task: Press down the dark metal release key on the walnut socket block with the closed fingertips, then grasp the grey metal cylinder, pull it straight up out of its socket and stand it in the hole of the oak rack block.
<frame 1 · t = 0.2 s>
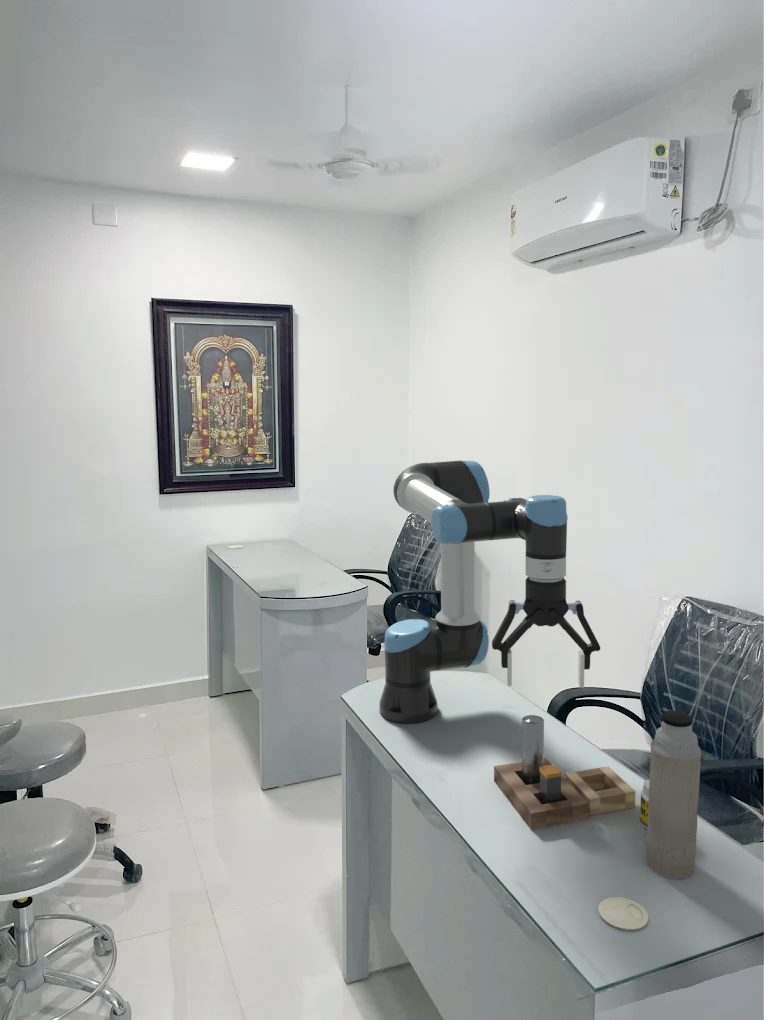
hand: (545, 684, 142), 26 cm above the table, fingers open, 13 cm apart
release key: (550, 785, 144), point 6 cm above the table, slide at 0.0 cm
rack: (599, 797, 150), on the table
socket block: (538, 799, 150), on the table
thermos bottle: (670, 865, 129), on the table
supplement bottle: (652, 825, 141), on the table
grey metal cylinder: (532, 791, 153), resting in socket block
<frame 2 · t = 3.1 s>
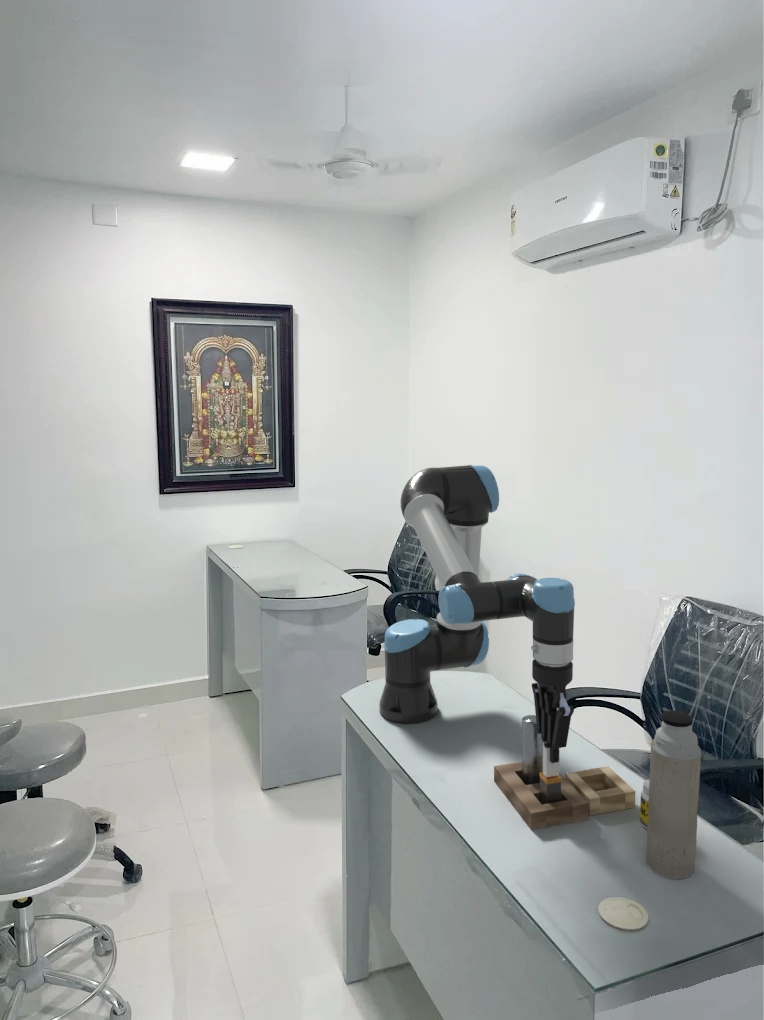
hand: (550, 774, 144), 8 cm above the table, fingers closed
release key: (550, 791, 145), point 5 cm above the table, slide at 1.2 cm, touching gripper
everything else where it was.
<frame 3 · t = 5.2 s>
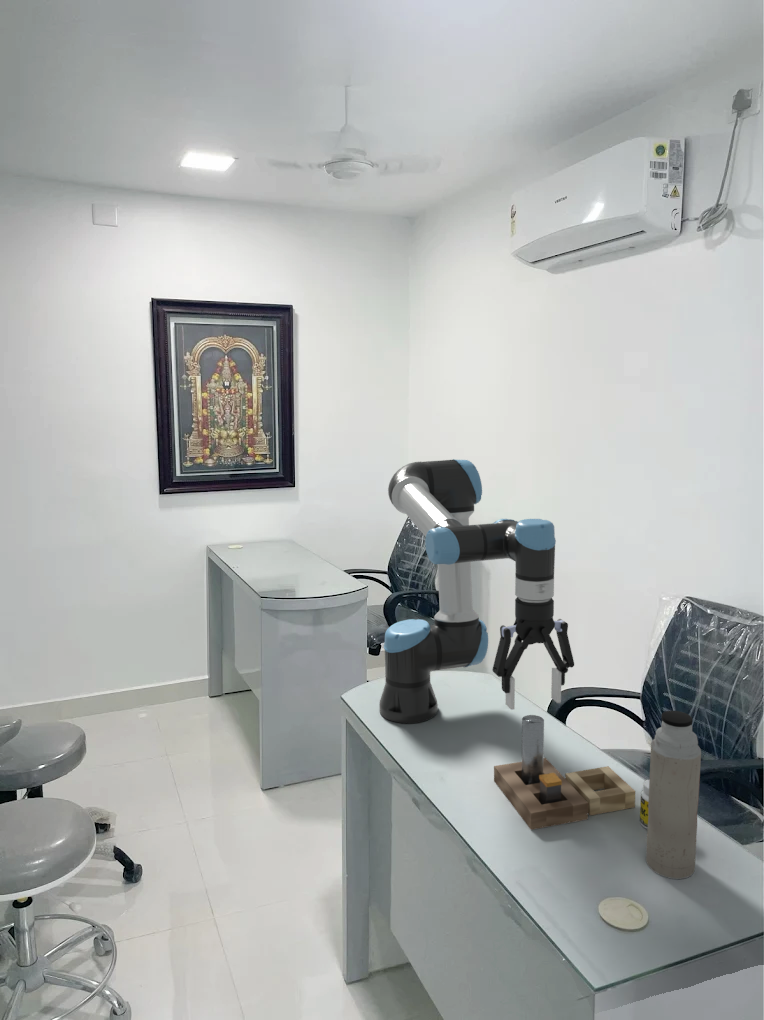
hand: (533, 703, 150), 20 cm above the table, fingers open, 9 cm apart
release key: (550, 793, 145), point 4 cm above the table, slide at 1.8 cm
everything else where it was.
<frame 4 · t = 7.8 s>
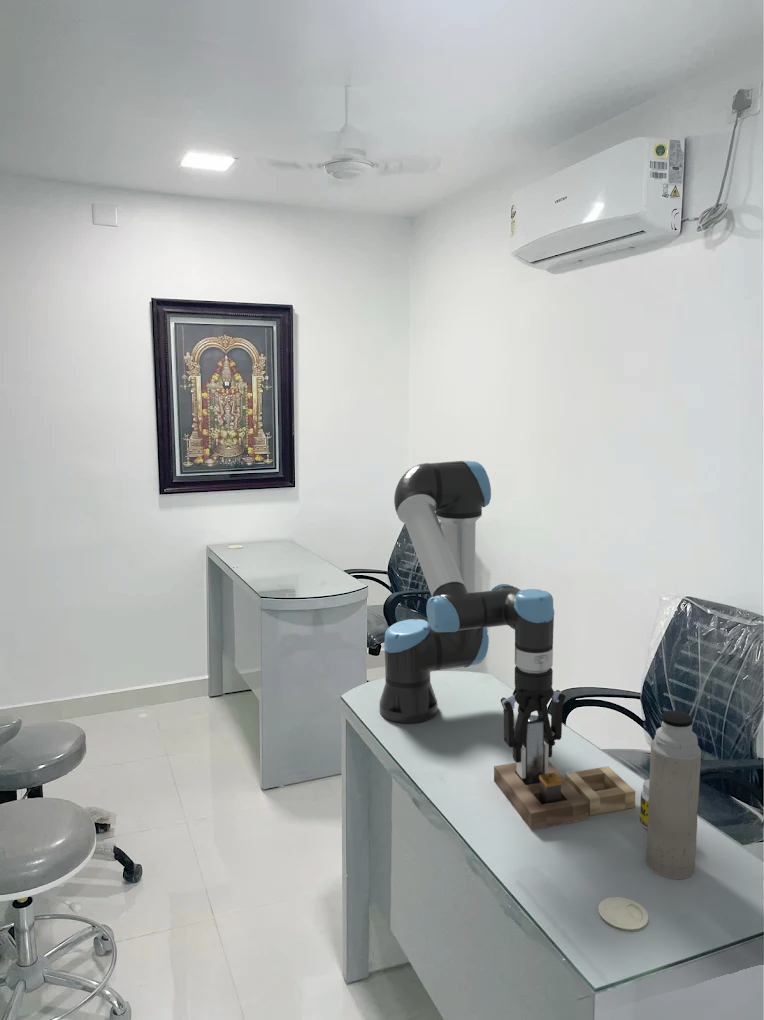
hand: (532, 773, 152), 4 cm above the table, fingers closed on grey metal cylinder, 4 cm apart
grey metal cylinder: (532, 791, 153), resting in socket block, touching gripper
everything else where it was.
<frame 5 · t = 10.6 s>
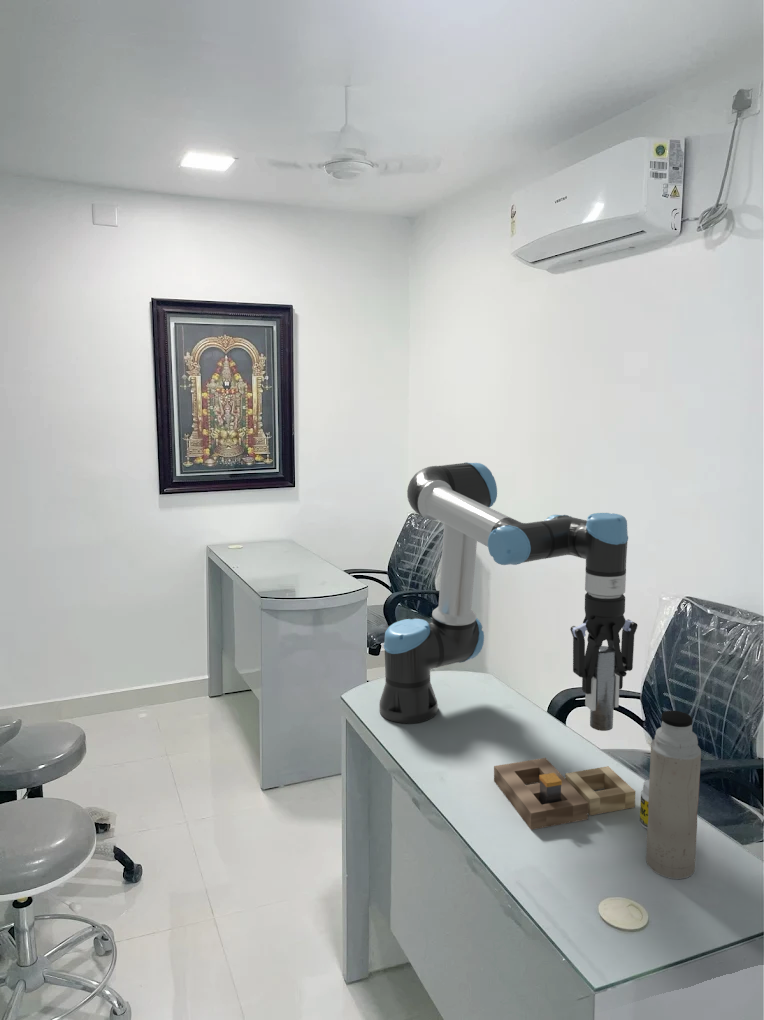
hand: (601, 705, 147), 20 cm above the table, fingers closed on grey metal cylinder, 4 cm apart
grey metal cylinder: (601, 725, 147), point 16 cm above the table, touching gripper
everything else where it was.
when the fingers open (5 cm above the table, at t = 13.5 s): grey metal cylinder stays where it is, resting in rack.
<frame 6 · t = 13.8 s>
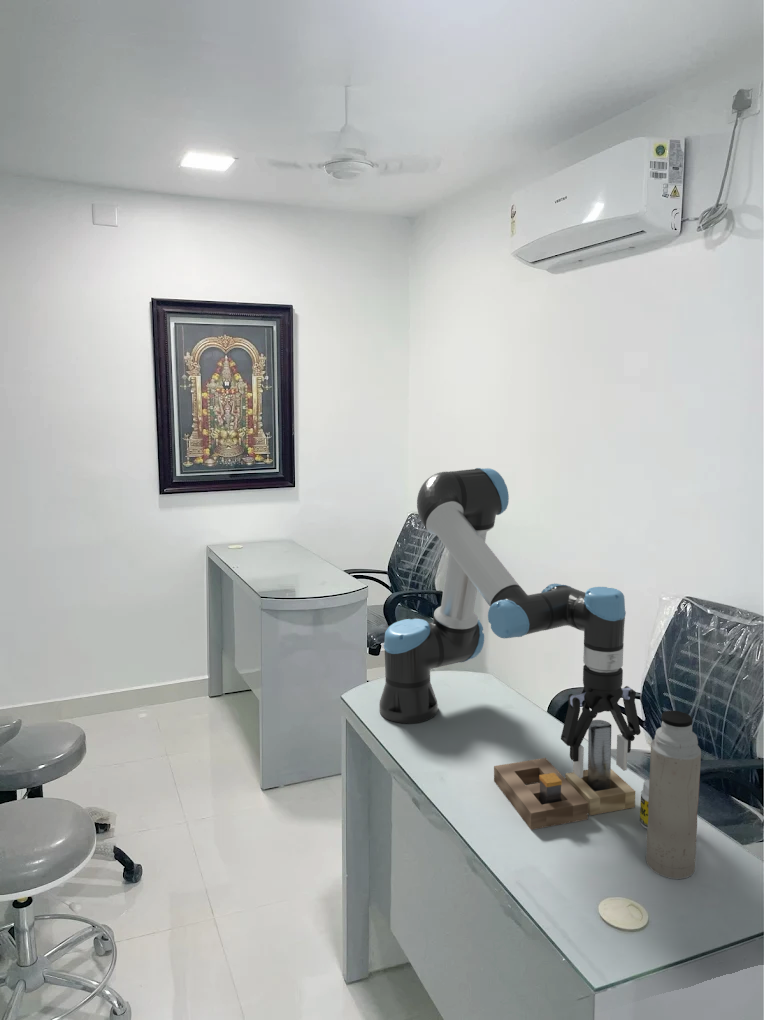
hand: (599, 770, 149), 6 cm above the table, fingers open, 9 cm apart
grey metal cylinder: (598, 797, 150), resting in rack
everything else where it was.
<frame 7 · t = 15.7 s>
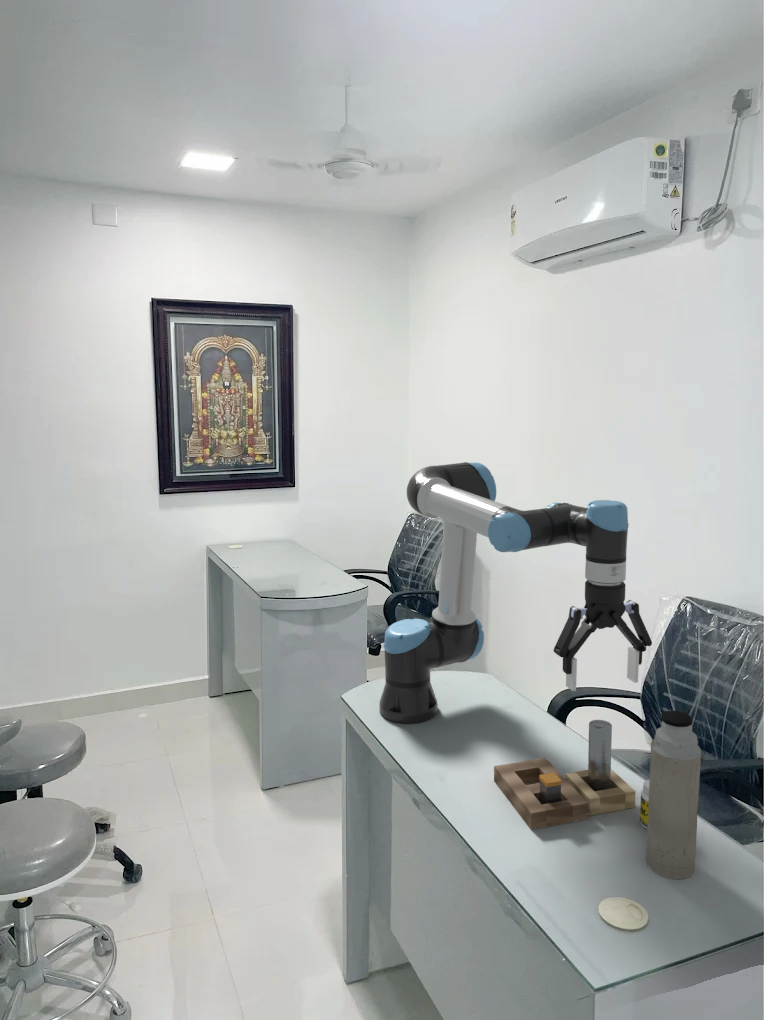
hand: (602, 684, 146), 25 cm above the table, fingers open, 13 cm apart
nothing on the table moved.
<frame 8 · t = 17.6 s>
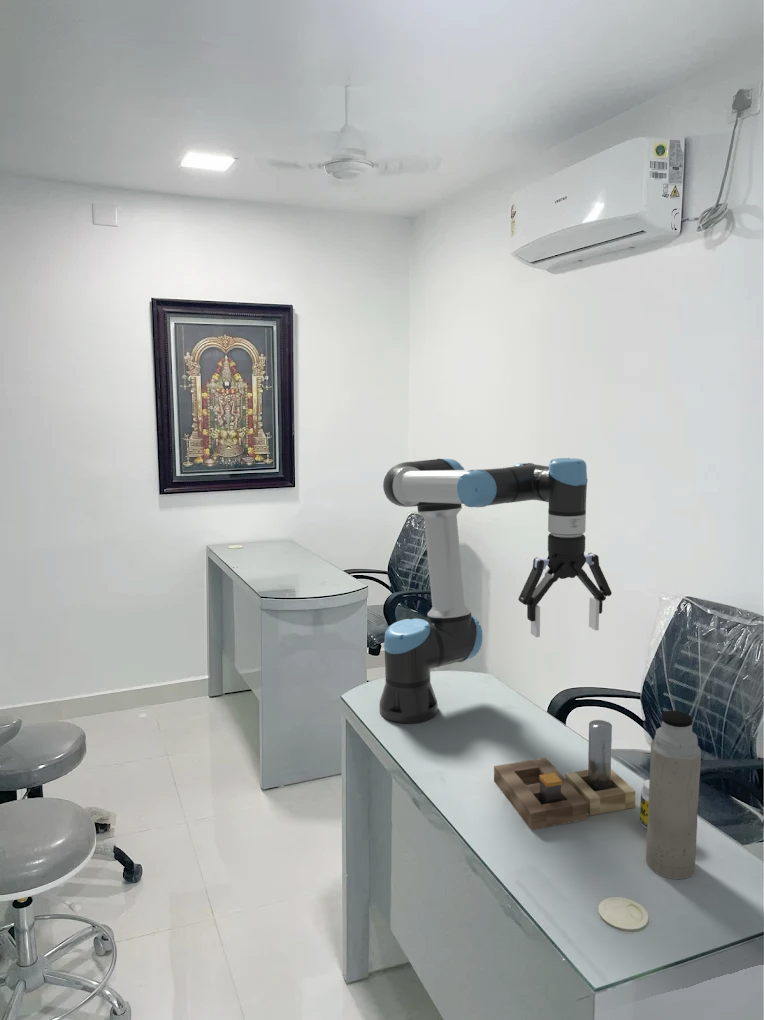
hand: (564, 631, 156), 32 cm above the table, fingers open, 13 cm apart
nothing on the table moved.
at the end: grey metal cylinder 0.1 cm off-centre on the rack, point 0.0 cm above the rack's base; grey metal cylinder tilted 0°; release key slide at 1.8 cm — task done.
